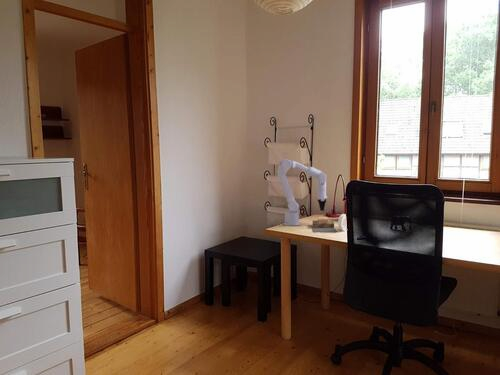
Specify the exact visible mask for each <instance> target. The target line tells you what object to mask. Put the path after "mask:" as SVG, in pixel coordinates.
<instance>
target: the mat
mask: <svg viewBox="0 0 500 375" xmlns="http://www.w3.org/2000/svg"><path fill="white" fill-rule="evenodd" d="M312 232H313V233H338V231H337V229H336V228H335V227H334V228H313V227H312Z"/></svg>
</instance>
